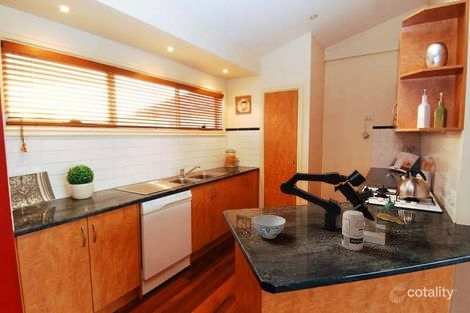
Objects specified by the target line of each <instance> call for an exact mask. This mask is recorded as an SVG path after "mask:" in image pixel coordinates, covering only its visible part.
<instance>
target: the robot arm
mask: <svg viewBox="0 0 470 313" xmlns="http://www.w3.org/2000/svg"><path fill="white" fill-rule="evenodd" d="M299 181H300V182H301V181H302V182H321V183H325V184H329V185H334V187H333V188H334V190H333V191H334V193H337V191H338V192H340V193H341V194H342V196H343V197H344V198H345V200H346V201H347V202H349V203H350V204H351V205H352V208H351V210H354V211H359V212H362V213H363V216H364V219H365V218H367V219H369V220H371V221H375V219H374V218H373V216H372V215H371V213H370V212H369V211H368V206H366V205H370V198H375V194H374V192H373V189H372V188H369V187H365V188H363V190H362V191H359V190H355V189H354V188H356V187H357V188H359V187H360V186H361V185H362V184H364V183H366V182H367V181H368V179H367V178H366V177H365V176H364V175H363V174H362V173H361V172H359V171H358V170H357V169H355V170H353V171H352V172H351V173H350V174H349V175H344V174H341V173H340V172H337V171H333V172H330V171H329V172H325V173H313V172H311V173H310V172H307V173H306V172H296V173H294V174H293V176H292V177H291V178H290V179H288V180H286V181H284V182H282V183H280V186H279V189H280V193H282V194H285V195H289V196H296V197H298V198H300V199H301V200H305V201H307V202H309V203H311V204H313V205H316V206H318V207H321V209H323V210H324V211H325V212H324V214H323V215H324V217H323V218H324V219H323V221H324V222H323V225H322V226H321V228H322V229H325V230H327V231H330V232H335V231H338V230H340V227H339V226H338V216H340V215H341V214H342V208H343V206H342V205H341V203H340V202H339V201H338V200H336V199H334V198H332V197H329V199H325V198H323V197H320V196H318V195H316V194H313V193H311V192H309V191H306V190H303V189H302V188H300V187H298V186H297V185H296V184H297V183H298V182H299Z"/></svg>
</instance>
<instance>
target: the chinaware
mask: <svg viewBox="0 0 470 313" xmlns="http://www.w3.org/2000/svg"><path fill="white" fill-rule="evenodd" d="M253 224H254V227H255V229H256V230H257V232H258V233H259V234H260V235H261V236H262V237H263V238H264V239H270V240H271V239H275V238H277V236H278V235H279V234H281V233H282V232H283V230H284V229H285V226H286V219H285V218H284V217H281V216H278V215H273V214H261V215H258V216H255V217H254V218H253Z"/></svg>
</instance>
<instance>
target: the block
mask: <svg viewBox="0 0 470 313" xmlns="http://www.w3.org/2000/svg"><path fill="white" fill-rule="evenodd" d="M366 206H368V211H369V212H370V213H371V215H372V216H373V218H374V219H375V221H371V220H369V219H367V218H365V217H364V222H365V231H369V232H375V233H376V224H377V218H378V217H377V211H378V206H377V205H371V204H369V205H366Z"/></svg>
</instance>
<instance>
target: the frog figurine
mask: <svg viewBox="0 0 470 313" xmlns="http://www.w3.org/2000/svg"><path fill="white" fill-rule="evenodd" d="M382 209H383V212H384V213H383V212H382ZM394 210H396V211H397V212H399V210H400V207H398V208H397V207H396V201H395V200H393V201H392V196H391V194H390V195H388V200H387V202H386V203H384V205H383V206H381V208H380V210H379V211H380V212H379V211H378V210H377V218H380V219H382V220H384V221H387V222H392V223H394V222H395V223H396V224H399V225H404V222H402V219H400V218H398V216H397V217H396V216H394V215H393V213H392V211H394ZM387 212H388V213H389V214H387Z"/></svg>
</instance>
